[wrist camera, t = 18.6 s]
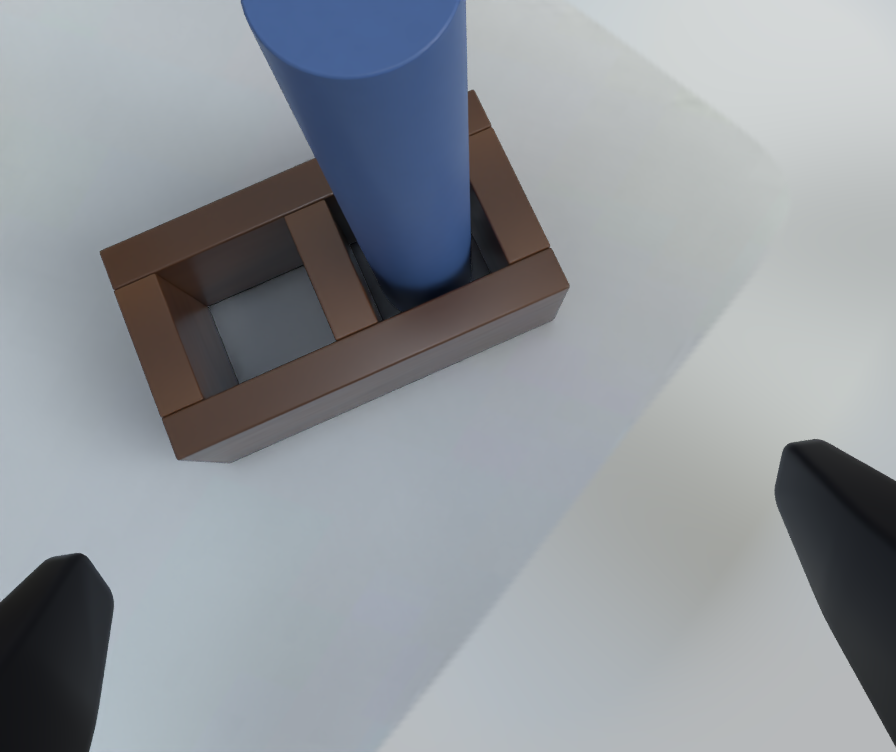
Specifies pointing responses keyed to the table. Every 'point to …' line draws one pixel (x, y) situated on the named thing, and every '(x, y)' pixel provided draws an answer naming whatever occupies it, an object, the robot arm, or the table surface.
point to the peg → (383, 126)
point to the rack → (339, 292)
